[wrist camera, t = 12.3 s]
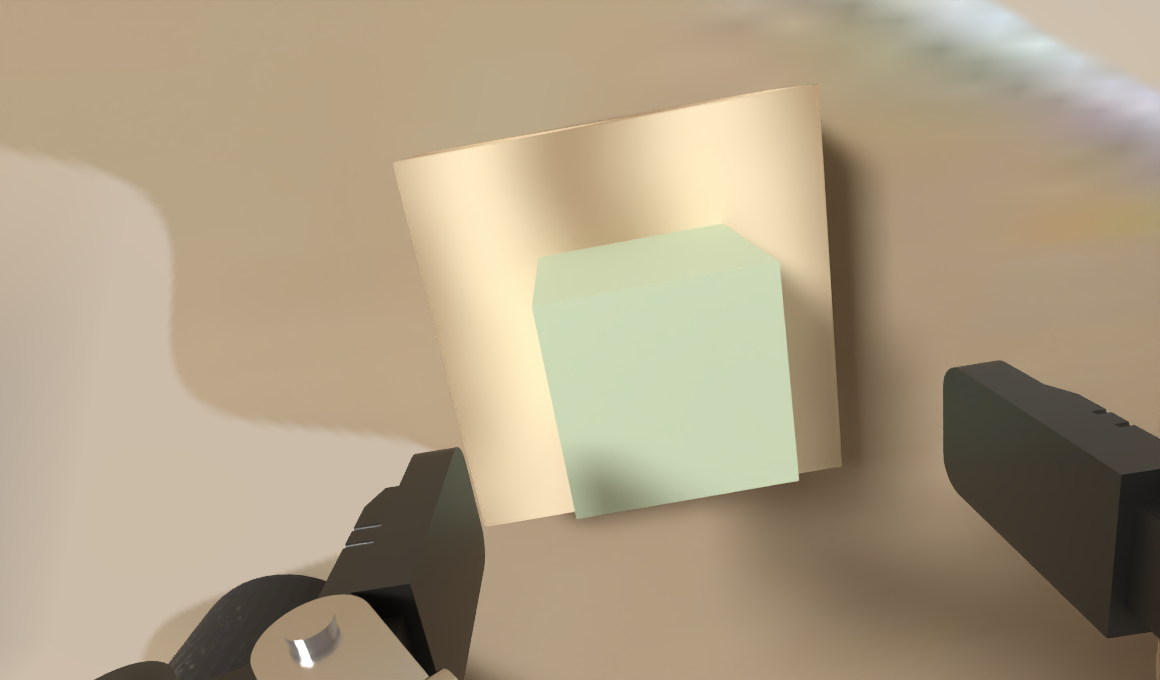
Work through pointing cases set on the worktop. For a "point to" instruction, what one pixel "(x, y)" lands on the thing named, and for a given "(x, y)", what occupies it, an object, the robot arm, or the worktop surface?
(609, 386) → the cube
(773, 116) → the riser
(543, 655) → the worktop surface
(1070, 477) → the robot arm
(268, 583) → the travel mug
